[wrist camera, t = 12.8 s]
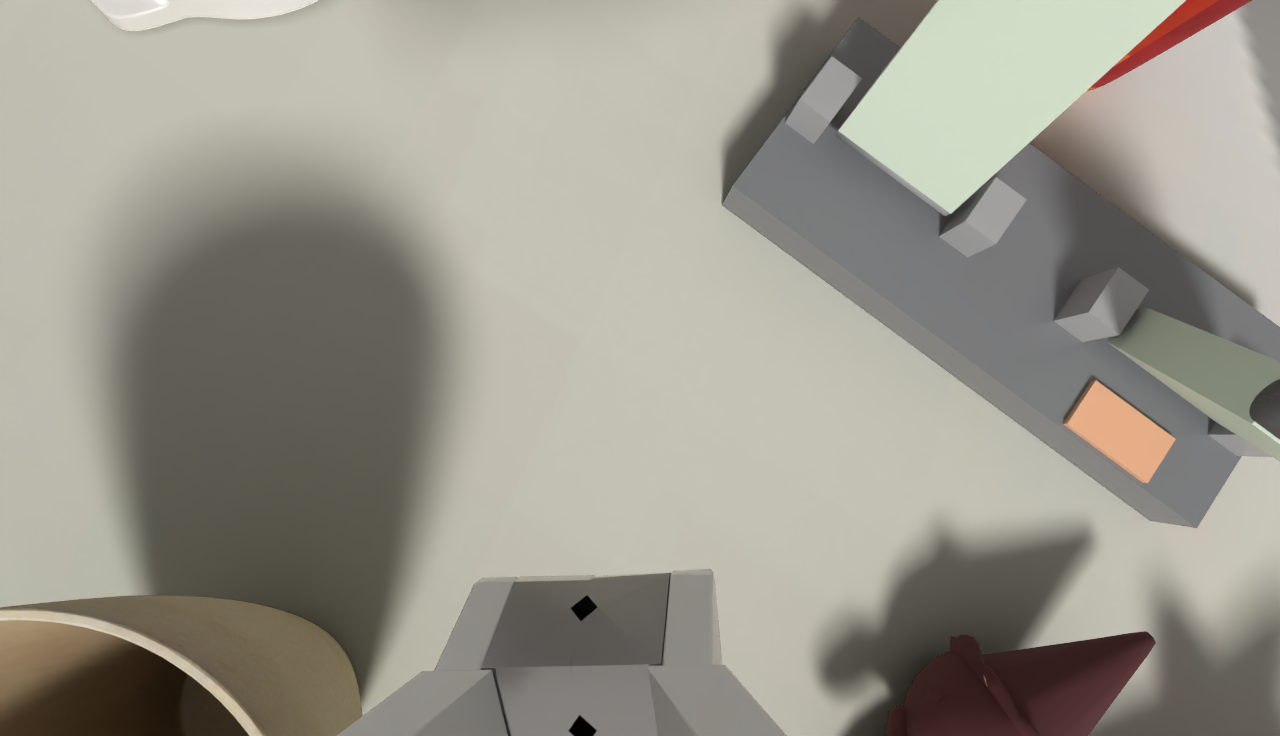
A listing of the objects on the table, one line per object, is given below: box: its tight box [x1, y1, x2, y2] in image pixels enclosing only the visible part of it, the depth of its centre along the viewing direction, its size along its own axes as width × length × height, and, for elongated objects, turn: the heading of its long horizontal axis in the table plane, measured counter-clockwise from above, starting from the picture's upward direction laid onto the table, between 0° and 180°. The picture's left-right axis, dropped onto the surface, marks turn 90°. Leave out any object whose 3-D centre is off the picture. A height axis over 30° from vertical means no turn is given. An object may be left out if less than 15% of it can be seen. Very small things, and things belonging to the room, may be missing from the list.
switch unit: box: [722, 17, 1280, 528], centre depth 34 cm, size 26×10×5 cm, turn 54°
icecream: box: [887, 632, 1155, 736], centre depth 31 cm, size 7×7×15 cm
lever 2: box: [1107, 306, 1280, 461], centre depth 27 cm, size 6×2×13 cm, turn 54°
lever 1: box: [835, 0, 1186, 216], centre depth 28 cm, size 6×2×13 cm, turn 54°
